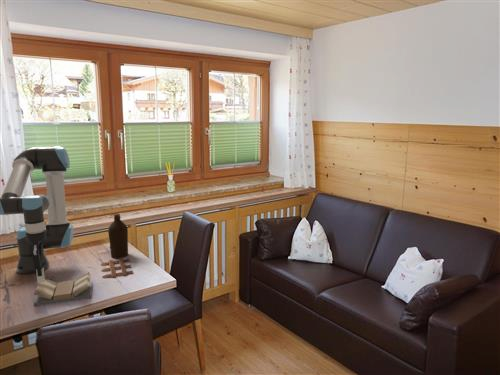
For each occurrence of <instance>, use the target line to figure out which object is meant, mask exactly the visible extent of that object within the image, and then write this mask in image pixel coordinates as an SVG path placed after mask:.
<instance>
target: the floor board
mask: <svg viewBox="0 0 500 375" xmlns="http://www.w3.org/2000/svg"><path fill="white" fill-rule="evenodd" d="M74 283H75V280H68V281H60V282H57V284H56V287H55V290H54V293H53V296H52V298H51V299H46V298H43V297H40V296H37V295H35V298H34V301H33V307H39V306H44V305H52V304H58V303H65V302H73V301H78V300H79V301H80V300H85V299H86V300H88V299H91V298H92V295H93V294H92V293H93V288H94V287H93V284H94V283H93V281H90V285H89V287H88V288H87V289H85V290H84V291H82V292H81V293H79V294H78V295H76V296H75V295H74V294H73V293H72V292H73V288H74Z"/></svg>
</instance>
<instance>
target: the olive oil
mask: <svg viewBox="0 0 500 375" xmlns="http://www.w3.org/2000/svg"><path fill="white" fill-rule="evenodd" d="M107 232H108V239H109V240H108V241H109V249H110V256H111V257H112V258H114V259H121V258H126V257H127V256H128V255H129V240H128V239H129V238H128V236H129V235H128V234H129V229H128V226H127V224H126V223H124V222H123V221H122V220H121V213H119V212H117V213H114V214H113V222H111V224H110V225H109V226H108V231H107Z"/></svg>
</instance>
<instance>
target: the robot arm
mask: <svg viewBox="0 0 500 375" xmlns="http://www.w3.org/2000/svg"><path fill="white" fill-rule="evenodd" d="M11 165H12V166H11V167H12V170H11V173H10V175H9V178H8V180H7V182H6V184H5V187H4V190H3V192H2V194H1V196H0V215H1V216H7V215H8V216H9V215H23V221H24V224H23V226H22V227H21V228H18V229H17V231H16V241H17V249H18V260H17V264H16V272H17V273H18V274H21V275H28V274H29V275H31V274H35V273H36V281H37V282H36V283H37V284H39V283H41V282H45V279H46V278H45V270H47V269H48V268H49V267H50V261H49V259H48V257H47V256H46V253H45V250H49V249H58V248H59V249H62V248H63V249H64V248H69V247H70V246H71V245H72V242H73V238H74V233H75V232H74V225H72V224H70V223H71V222H70V221H69V219H67V210H66V209H67V208H66V193H65V192H66V191H65V177H64V176H65V174H66V173H67V169H69V168H70V158H69V154H68V152H67V149H66V148H65V147H63V146H38V147H37V146H35V147H34V146H33V147H29V148H27V149H25V150H22V151H21V152H20V153H19V154H18V155H17V156H15V158H14V159H13V162H12V164H11ZM35 170H41V171H42V174H43V175H44V176H45V185H46V186H45V187H46V195H45V194H37V195H35V194H33V195H27V196H23V193H24V191H25V190H24V189H25V187H26V185H27V182H28V179H29V176H30V174H32V173H33V172H34V171H35ZM45 211H47V215H48V216H47V218H48V220H47V222H46V223H45V217H44V216H45V215H44V213H45Z"/></svg>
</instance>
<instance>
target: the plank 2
mask: <svg viewBox="0 0 500 375" xmlns="http://www.w3.org/2000/svg"><path fill="white" fill-rule="evenodd" d="M91 276H92V275H91V274H90V272H89V271H87V272H86V273H84V274H83V275H81V276H79V277H78V278H76V279H75V280H74V288H73V292H72V293H73V294H74V295H75V296H76V295H78V294H79V293H81V292H82V291H84V290H85V289H87V288H88V287H89V285H90V282H91Z"/></svg>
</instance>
